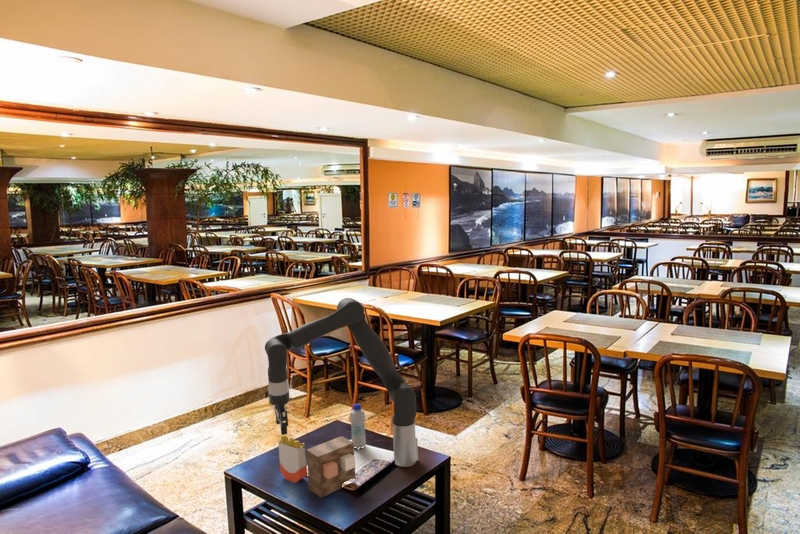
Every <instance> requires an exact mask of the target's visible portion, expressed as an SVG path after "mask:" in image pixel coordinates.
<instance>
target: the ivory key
mask: <svg viewBox="0 0 800 534" xmlns="http://www.w3.org/2000/svg"><path fill="white" fill-rule="evenodd" d="M340 468H341V469H343V470H345V471H348V470H350V469H352V468H355V469H356V456H355V454H354V455H352V454H350V453H348V454H345V455H343V456H341V457H340Z"/></svg>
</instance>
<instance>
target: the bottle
mask: <svg viewBox="0 0 800 534" xmlns="http://www.w3.org/2000/svg"><path fill="white" fill-rule="evenodd" d="M352 408H353V409H352V410H351V411H350V416H349V420H350V421H349V422H350V427H351V428H350V429H351V441H352V442H353V443H354V447H357V448H359V447H360V448H361V447H363V446H365V445H367V439H366V438H367V437H366V427H365V425H366V424H365V423H366V414H365V410H364V409H362V406H361V404H360V403H354V404H353V407H352ZM365 447H366V446H365ZM357 448H356V449H357Z"/></svg>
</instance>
